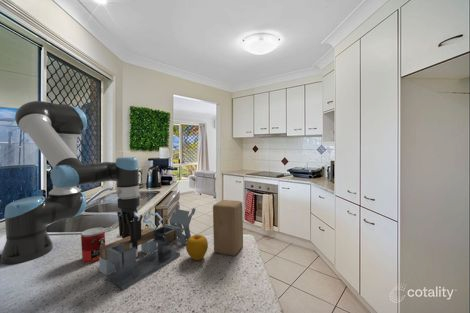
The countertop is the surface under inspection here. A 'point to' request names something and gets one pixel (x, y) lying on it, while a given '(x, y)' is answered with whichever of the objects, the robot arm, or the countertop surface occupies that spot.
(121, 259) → the bracket
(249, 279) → the countertop surface
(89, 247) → the canned food
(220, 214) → the wooden block
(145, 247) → the rest block
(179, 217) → the bracket
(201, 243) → the apple
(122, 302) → the countertop surface
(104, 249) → the rail
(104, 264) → the rest block
